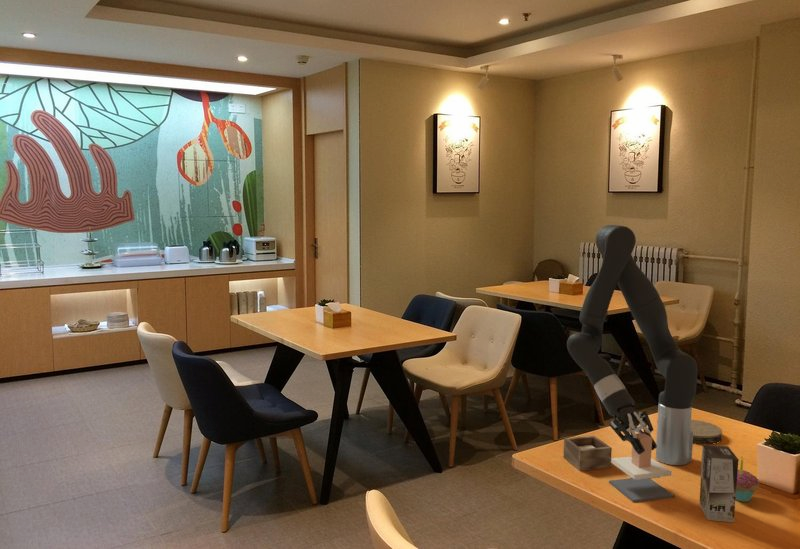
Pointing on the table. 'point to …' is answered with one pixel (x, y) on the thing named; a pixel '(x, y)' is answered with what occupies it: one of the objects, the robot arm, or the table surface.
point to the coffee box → (718, 483)
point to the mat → (641, 489)
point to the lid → (641, 462)
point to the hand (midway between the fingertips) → (647, 450)
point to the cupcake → (745, 484)
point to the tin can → (705, 432)
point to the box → (587, 453)
